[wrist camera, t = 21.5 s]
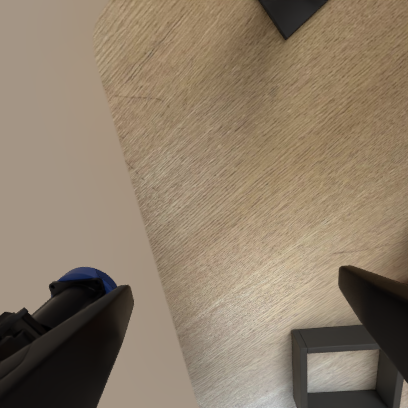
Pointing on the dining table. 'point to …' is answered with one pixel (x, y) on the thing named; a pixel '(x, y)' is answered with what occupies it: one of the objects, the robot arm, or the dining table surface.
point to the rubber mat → (290, 13)
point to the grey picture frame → (337, 342)
